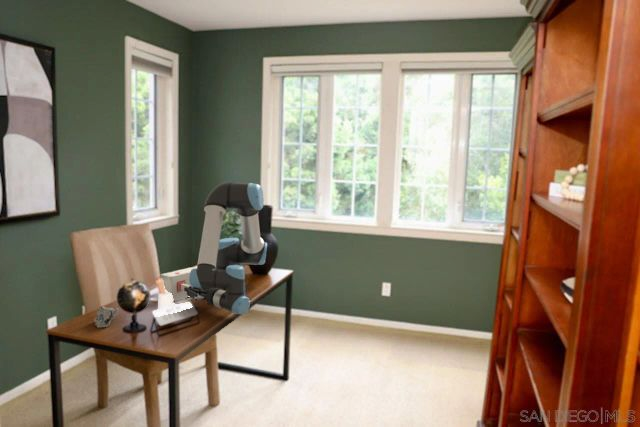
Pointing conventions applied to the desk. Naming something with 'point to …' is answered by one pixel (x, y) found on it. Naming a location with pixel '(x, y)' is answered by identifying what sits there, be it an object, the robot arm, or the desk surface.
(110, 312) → the mineral specimen
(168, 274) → the push button box
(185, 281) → the button
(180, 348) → the desk surface
